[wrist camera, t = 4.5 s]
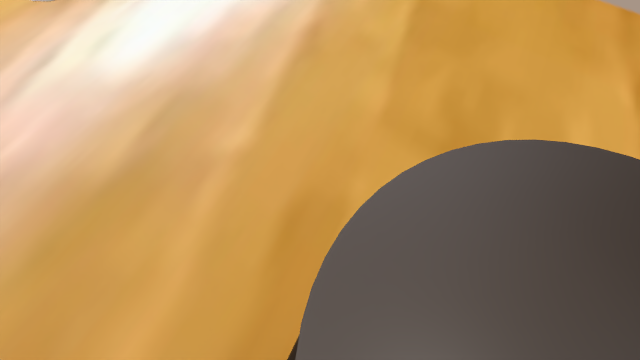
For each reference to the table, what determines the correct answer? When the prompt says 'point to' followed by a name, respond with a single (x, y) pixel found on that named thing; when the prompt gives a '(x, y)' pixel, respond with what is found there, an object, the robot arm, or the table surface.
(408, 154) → the table surface
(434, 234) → the beige cylindrical canister
